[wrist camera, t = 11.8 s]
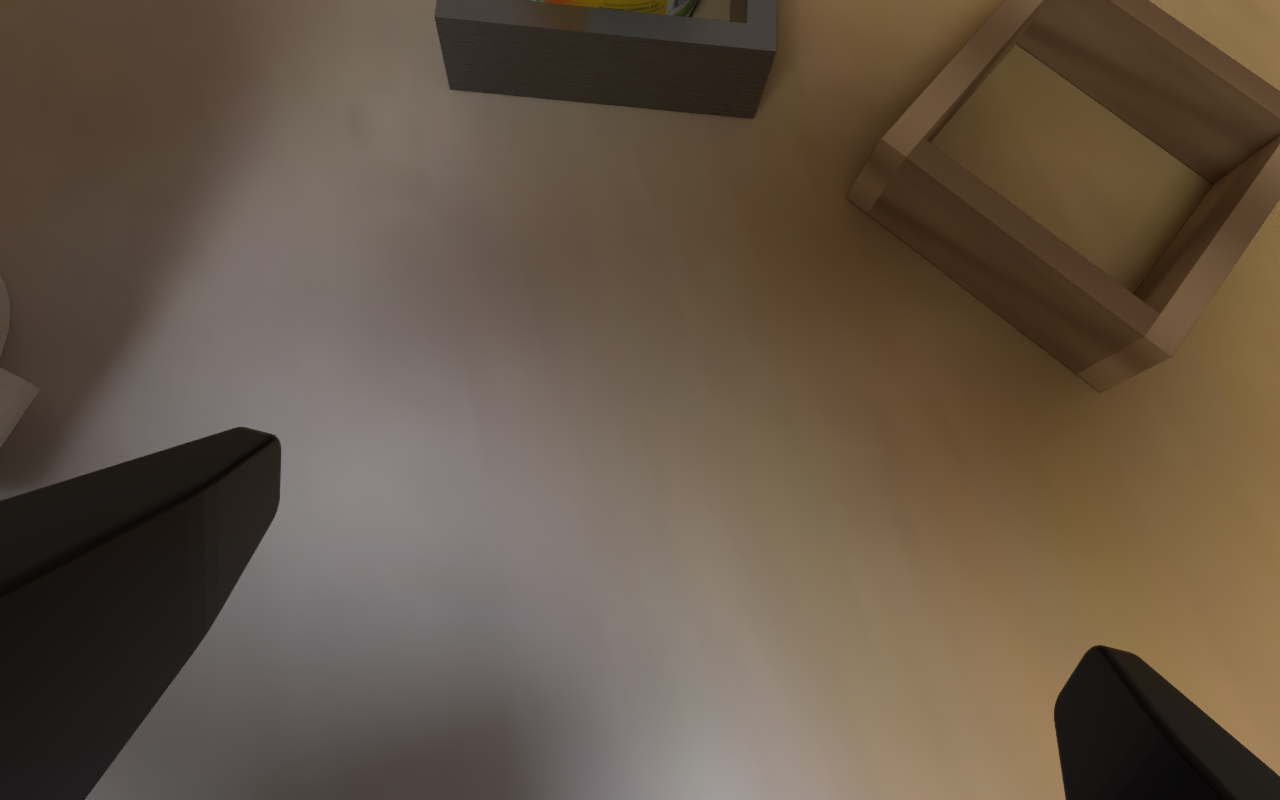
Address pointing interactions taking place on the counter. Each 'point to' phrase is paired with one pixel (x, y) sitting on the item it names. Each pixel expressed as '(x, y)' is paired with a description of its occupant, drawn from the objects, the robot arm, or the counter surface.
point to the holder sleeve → (1031, 255)
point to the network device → (11, 378)
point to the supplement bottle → (636, 5)
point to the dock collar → (610, 54)
